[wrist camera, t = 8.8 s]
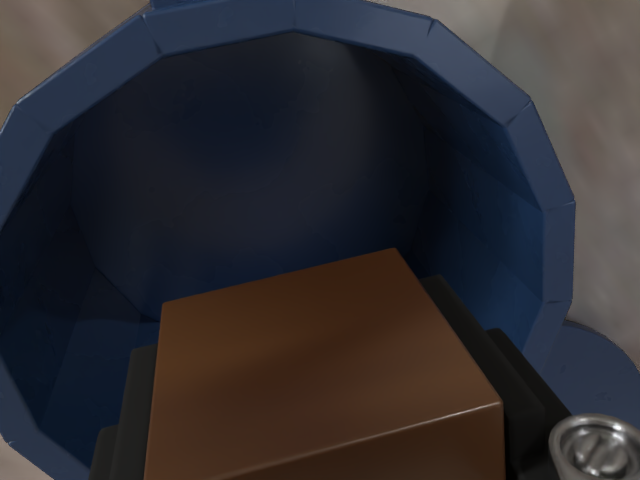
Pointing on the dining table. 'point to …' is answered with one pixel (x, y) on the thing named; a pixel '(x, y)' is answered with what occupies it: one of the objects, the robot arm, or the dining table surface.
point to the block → (320, 382)
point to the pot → (257, 189)
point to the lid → (592, 374)
